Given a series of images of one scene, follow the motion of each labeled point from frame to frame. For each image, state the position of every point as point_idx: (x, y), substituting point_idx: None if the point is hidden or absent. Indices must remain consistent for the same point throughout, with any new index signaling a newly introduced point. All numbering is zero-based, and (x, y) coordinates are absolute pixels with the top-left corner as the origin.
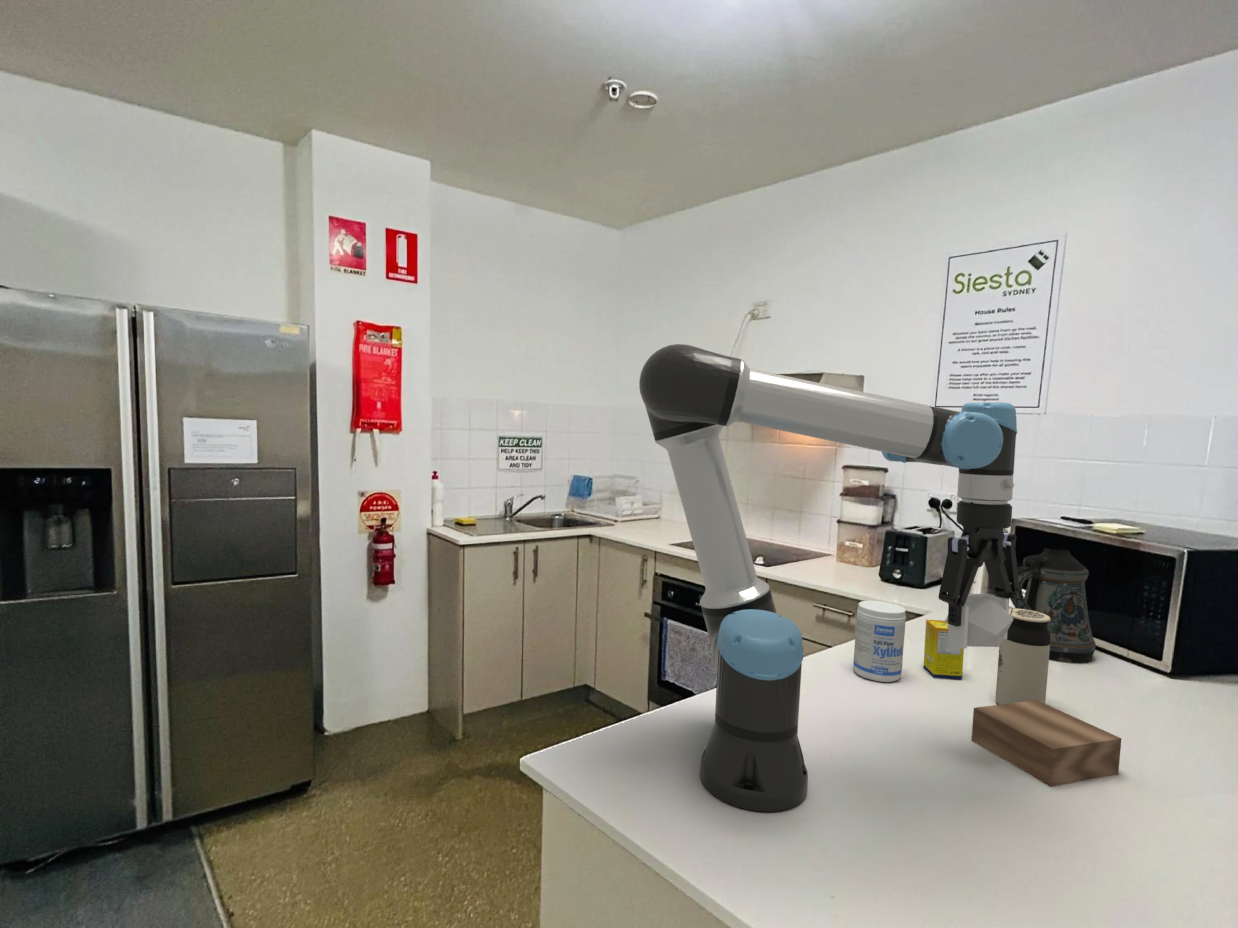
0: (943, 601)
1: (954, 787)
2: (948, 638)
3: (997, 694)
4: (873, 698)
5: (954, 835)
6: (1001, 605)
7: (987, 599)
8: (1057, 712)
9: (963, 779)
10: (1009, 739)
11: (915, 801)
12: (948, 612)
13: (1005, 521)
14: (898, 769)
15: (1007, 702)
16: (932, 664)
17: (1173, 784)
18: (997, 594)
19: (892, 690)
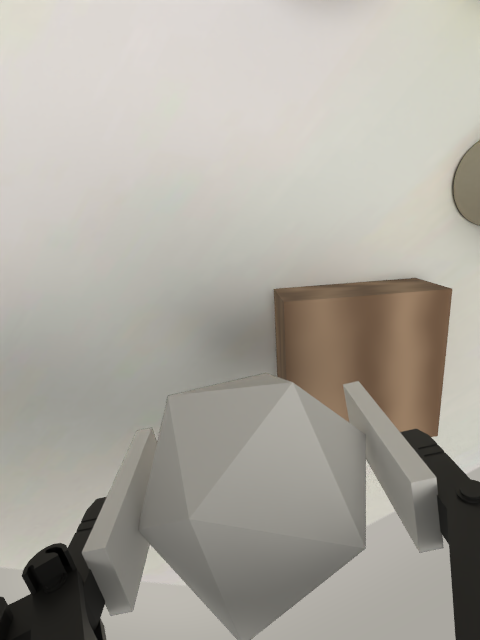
0: (47, 551)
1: (140, 400)
2: (133, 441)
3: (473, 158)
4: (205, 78)
5: (70, 478)
6: (400, 506)
7: (253, 622)
8: (433, 343)
9: (168, 385)
10: (282, 369)
11: (62, 419)
12: (71, 542)
13: None
14: (85, 348)
15: (462, 190)
16: None
17: (451, 434)
18: (443, 507)
19: (282, 40)
